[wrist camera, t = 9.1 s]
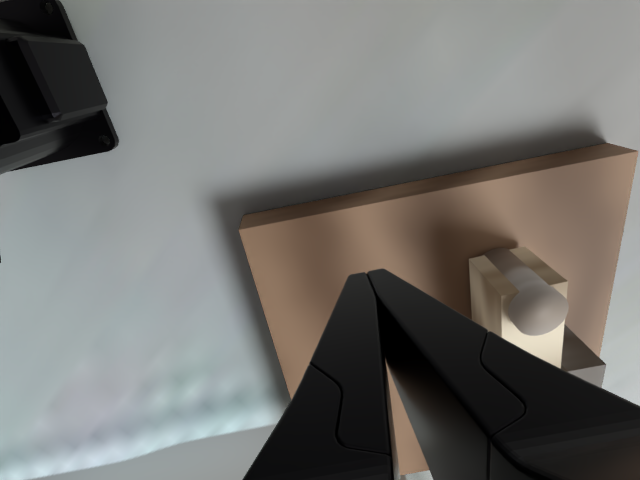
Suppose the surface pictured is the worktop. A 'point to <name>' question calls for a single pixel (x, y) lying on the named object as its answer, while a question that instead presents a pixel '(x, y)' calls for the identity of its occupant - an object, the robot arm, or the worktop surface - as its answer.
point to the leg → (520, 300)
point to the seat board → (447, 251)
